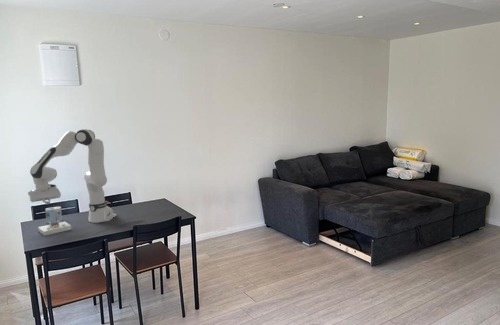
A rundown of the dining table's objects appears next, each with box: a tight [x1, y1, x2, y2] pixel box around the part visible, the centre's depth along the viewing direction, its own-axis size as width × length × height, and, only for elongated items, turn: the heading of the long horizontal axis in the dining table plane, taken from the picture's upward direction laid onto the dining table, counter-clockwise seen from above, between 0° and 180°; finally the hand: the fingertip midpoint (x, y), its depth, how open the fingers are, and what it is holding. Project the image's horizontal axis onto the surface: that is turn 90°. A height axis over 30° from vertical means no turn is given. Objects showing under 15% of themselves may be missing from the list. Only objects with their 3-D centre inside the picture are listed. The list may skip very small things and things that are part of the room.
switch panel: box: [37, 220, 72, 236], centre depth 261 cm, size 13×18×6 cm
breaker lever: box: [49, 211, 57, 226], centre depth 262 cm, size 2×3×11 cm
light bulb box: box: [45, 206, 63, 225], centre depth 280 cm, size 11×7×11 cm, turn 122°
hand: (48, 204), depth 266 cm, fingers closed
